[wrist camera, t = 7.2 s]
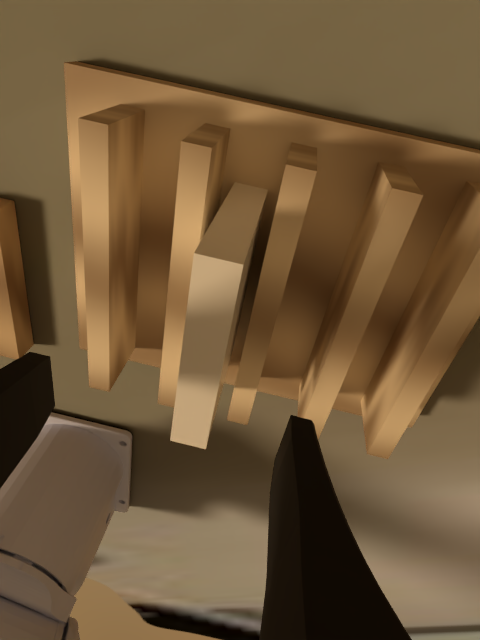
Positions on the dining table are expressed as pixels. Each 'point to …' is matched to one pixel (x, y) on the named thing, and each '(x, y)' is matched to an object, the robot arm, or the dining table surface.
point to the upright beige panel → (215, 311)
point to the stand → (12, 288)
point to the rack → (273, 246)
